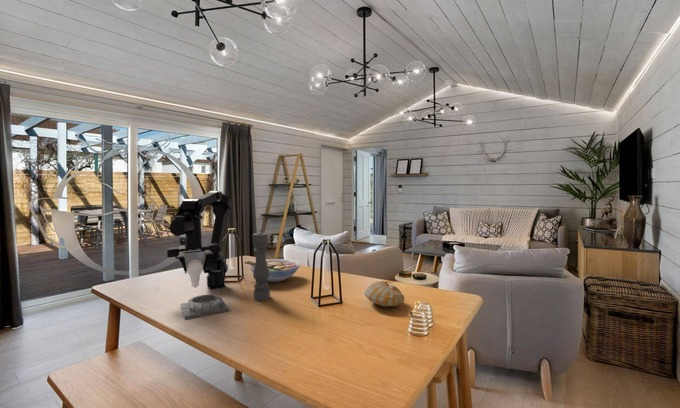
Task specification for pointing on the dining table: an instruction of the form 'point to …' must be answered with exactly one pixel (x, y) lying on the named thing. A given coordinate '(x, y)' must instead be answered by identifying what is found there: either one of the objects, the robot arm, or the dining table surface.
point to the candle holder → (261, 267)
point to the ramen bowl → (278, 269)
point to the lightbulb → (194, 271)
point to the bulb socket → (203, 306)
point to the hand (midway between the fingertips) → (194, 272)
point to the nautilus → (384, 294)
